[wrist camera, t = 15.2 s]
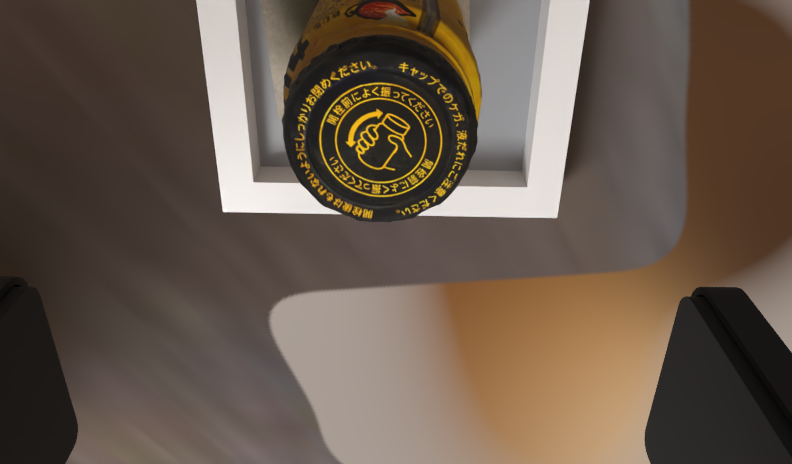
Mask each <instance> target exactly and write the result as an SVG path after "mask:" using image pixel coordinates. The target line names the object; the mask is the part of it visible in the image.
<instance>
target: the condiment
mask: <svg viewBox="0 0 792 464" xmlns="http://www.w3.org/2000/svg"><path fill="white" fill-rule="evenodd" d="M260 6H261V12H262V17H263V23H264V30H265V36H266V42H267V47H268V49H269V50H268V53H269V61H270V67H271V74H272V79H273V85H274V91H275V99H276V105H277V111H278V117H279V119H282V125H283V139H284V144H285V149H286V154H287V157H288V160H289V163H290V166H291V168H292V170H293V171H294V173H295V175H296V177H297V179H298V181H299V182H300V184H301V185H302V186H303V187H304V188H306V189H307V190H308V191H309V193H310V194H311V195H312V196H313V197H314V198H315V199H316V200H317V201H318V202H319V203H320V204H321V205H323V206H324V207H327V208H329V209H332V210H334V211H337V212H339V213H341V214H343V215H346V216H349V217H352V218H354V219H356V220H359V221H368V222H392V221H396V220H405V219H410V218H414V217H416V216H417V215H419V214H420V213H422V212H424V211H426V210H428V209H430V208H432V207H434V206H437V205H440V204H441V203H442V202H444V201H445V200H446V199H447V198H448V197H449V196H450V195H451V194H452V192H453V191H454V190H455V189H456V188H457V186H458V185H459V183H460V181H461V180H462V178H463V176H464V175H465V173H466V171H467V169H468V168H469V164H470V160H471V158H472V157H473V155H474V153H475V151H476V146H477V143H478V138H477V129H478V120H479V114H480V108H481V102H482V88H481V77H480V73H479V71H478V66H477V61H476V58H475V56H474V53H473V51H472V47H471V45H470V0H260Z"/></svg>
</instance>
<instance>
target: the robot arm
mask: <svg viewBox="0 0 792 464" xmlns="http://www.w3.org/2000/svg"><path fill="white" fill-rule="evenodd" d="M77 433H78V424H77V419H76V416H75V412H74V409H73V406H72V402H71V399H70V395H69V392H68V388H67V385H66V382H65V378H64V375H63V371H62V368H61V365H60V361H59V358H58V354H57V351H56V348H55V344H54V341H53V337H52V334H51V330H50V327H49V324H48V320H47V317H46V313H45V310H44V307H43V303H42V300H41V296H40V294H39V292H38V290H37V289H36V288H34V287H29V286H28V284H27V282H26V281H25V280H24V279H23V278H20V277H0V464H65V463H66V461H67V459H68V457H69V455H70V454H71V452H72V450H73V448H74V445H75V443H76V439H77ZM645 447H646V452H647V455H648V458H649V460H650V463H651V464H792V353H791V351H790V350H789V349H788V347H787V346H786V345H785V344H784V342H783V341H782V340H781V338H780V337H779V336H778V334H777V333H776V332H775V331H774V329H773V328H772V327H771V325H770V324H769V323H768V322H767V320H766V319H765V318H764V316H763V315H762V314H761V312H760V311H759V310H758V309H757V307H756V306H755V305H754V303H753V302H752V301H751V300H750V298H749V297H748V296H747V294H746V293H745V292H744V291H743V290H742V289H740V288H736V287H733V288H732V287H699V288H696V289H695V290H694V292H693V293H692V295H691V297H684V298H682V299H681V301H680V303H679V306H678V310H677V313H676V317H675V321H674V325H673V329H672V332H671V336H670V340H669V343H668V347H667V351H666V355H665V358H664V362H663V366H662V370H661V373H660V377H659V381H658V385H657V388H656V392H655V396H654V400H653V403H652V407H651V411H650V415H649V418H648V422H647V426H646V430H645Z"/></svg>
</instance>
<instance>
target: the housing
mask: <svg viewBox="0 0 792 464" xmlns="http://www.w3.org/2000/svg"><path fill="white" fill-rule="evenodd" d="M196 2H197V10H198V18H199V26H200V34H201V42H202V50H203V58H204V66H205V74H206V82H207V90H208V97H209V105H210V113H211V121H212V129H213V137H214V145H215V153H216V161H217V169H218V177H219V185H220V193H221V200H222V208H223V212H253V213H308V214H341V213H339V212H337V211H334V210H332V209H329V208H327V207H324V206H323V205H321V204H320V203H319V202H318V201H317V200H316V199H315V198H314V197H313V196H312V195H311V194H310V193H309V191H308V190H307V189H306V188H304V187H303V186H302V185H301V184H300V182H299V181H298V179H297V177H296V175H295V173H294V171H293V170H292V168H291V166H290V163H289V160H288V157H287V154H286V149H285V144H284V139H283V125H282V119H279V117H278V111H277V105H276V99H275V91H274V85H273V79H272V74H271V67H270V61H269V53H268V50H269V49H268V47H267V42H266V36H265V30H264V23H263V17H262V12H261V6H260V0H196ZM589 2H590V0H470V45H471V47H472V51H473V53H474V56H475V58H476V61H477V66H478V71H479V73H480V77H481V88H482V102H481V108H480V114H479V120H478V129H477V138H478V143H477V146H476V151H475V153H474V155H473V157H472V158H471V160H470V164H469V168H468V169H467V171H466V173H465V175H464V176H463V178H462V180H461V181H460V183H459V185H458V186H457V188H456V189H455V190H454V191H453V192H452V194H451V195H450V196H449V197H448V198H447V199H446V200H445V201H444V202H442V203H441V204H440V205H437V206H434V207H432V208H430V209H428V210H426V211H424V212H422V213H420V214H419V215H417V216H471V217H526V218H557V215H558V209H559V202H560V195H561V189H562V182H563V175H564V169H565V162H566V155H567V149H568V142H569V135H570V129H571V122H572V115H573V109H574V102H575V95H576V89H577V82H578V75H579V69H580V62H581V55H582V49H583V42H584V35H585V29H586V22H587V16H588V9H589Z"/></svg>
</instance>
